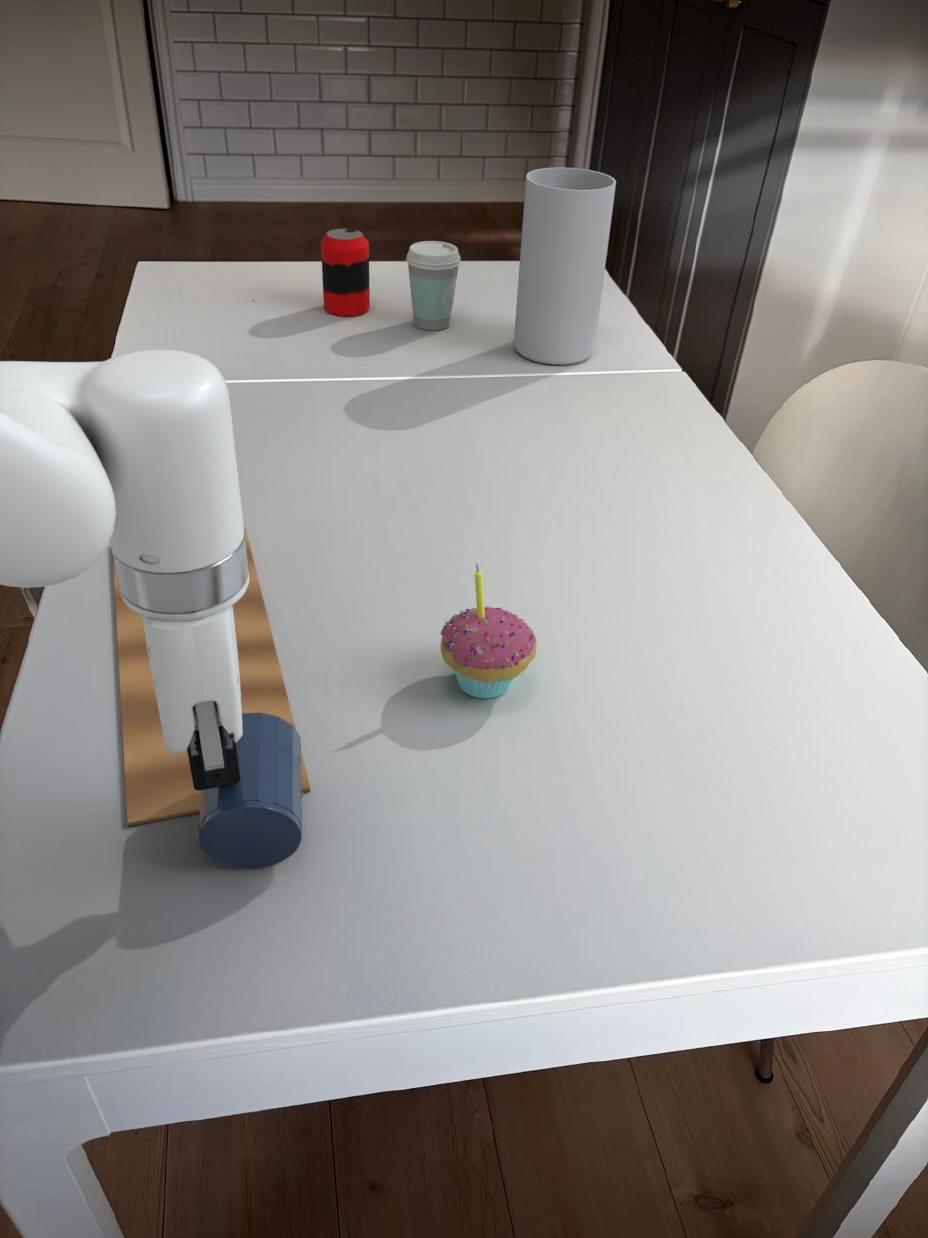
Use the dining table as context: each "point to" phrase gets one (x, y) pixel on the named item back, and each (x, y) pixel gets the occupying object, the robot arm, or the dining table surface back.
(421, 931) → the dining table surface
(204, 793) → the cup
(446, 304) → the coffee cup
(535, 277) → the cylinder vase
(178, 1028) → the dining table surface
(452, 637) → the cupcake
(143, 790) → the placemat
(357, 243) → the soda can
